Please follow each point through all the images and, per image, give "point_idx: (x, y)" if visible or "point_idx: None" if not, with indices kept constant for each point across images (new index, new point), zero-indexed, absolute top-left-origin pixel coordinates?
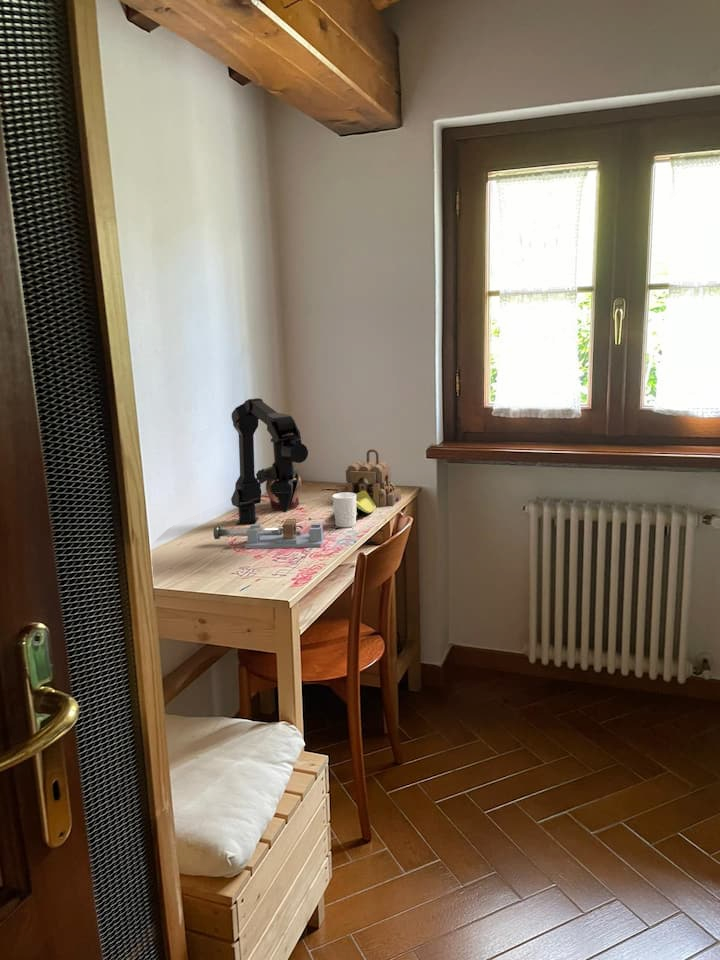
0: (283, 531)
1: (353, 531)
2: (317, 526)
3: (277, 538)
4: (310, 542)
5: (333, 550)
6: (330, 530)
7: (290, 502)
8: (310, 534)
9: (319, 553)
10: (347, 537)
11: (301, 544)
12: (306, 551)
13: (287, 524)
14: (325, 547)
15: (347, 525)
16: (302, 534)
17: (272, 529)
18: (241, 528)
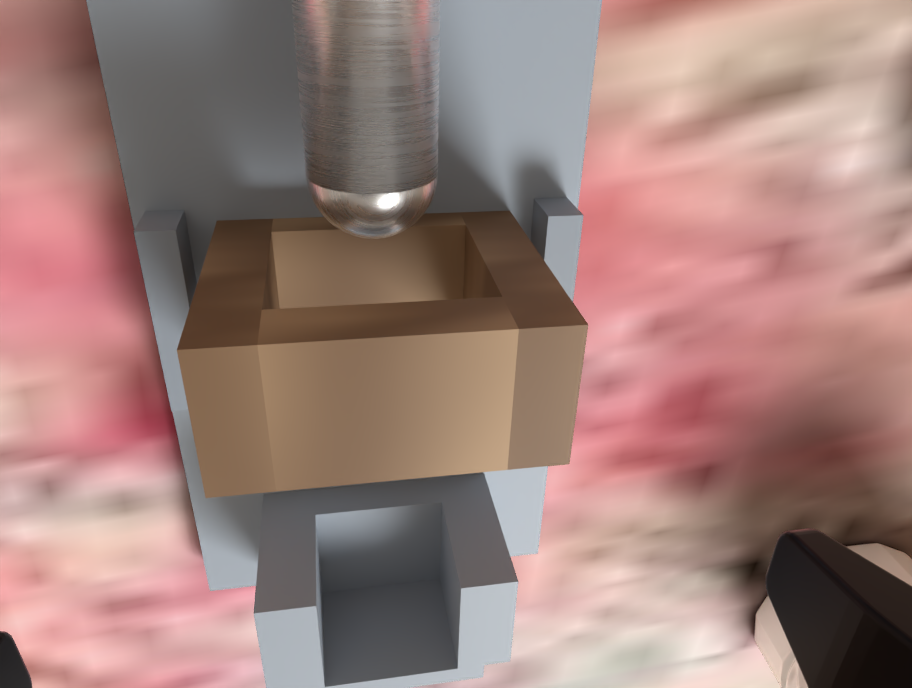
0: (198, 298)
1: (635, 676)
2: (454, 623)
3: None
4: (244, 505)
5: (122, 667)
6: (712, 535)
7: (791, 618)
8: (260, 570)
9: (6, 595)
10: (486, 675)
11: (178, 432)
12: (44, 482)
13: (217, 424)
14: (203, 600)
15: (760, 640)
16: None
17: (325, 72)
18: None
